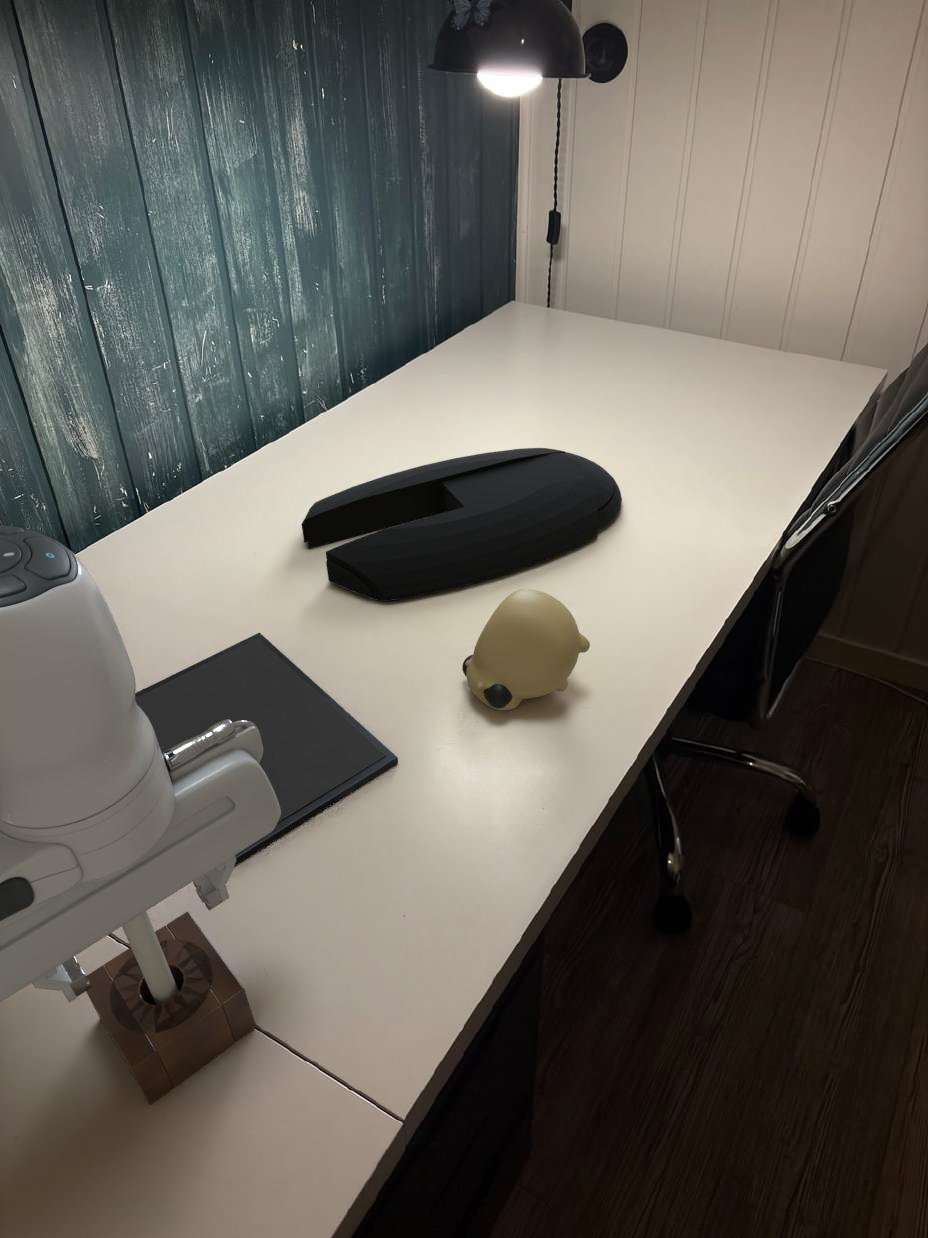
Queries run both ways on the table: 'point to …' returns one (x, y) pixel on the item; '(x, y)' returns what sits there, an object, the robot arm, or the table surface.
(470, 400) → the table surface
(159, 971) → the stylus
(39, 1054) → the table surface
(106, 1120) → the table surface
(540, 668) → the toy pig
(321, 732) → the tablet
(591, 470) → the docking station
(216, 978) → the pen block
